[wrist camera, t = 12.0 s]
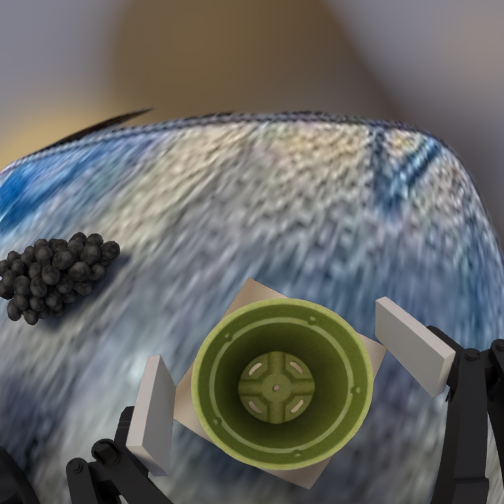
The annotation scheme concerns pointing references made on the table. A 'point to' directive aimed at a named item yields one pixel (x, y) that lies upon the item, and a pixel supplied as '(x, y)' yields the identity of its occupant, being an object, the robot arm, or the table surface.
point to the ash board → (187, 414)
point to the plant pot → (282, 383)
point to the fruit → (53, 274)
